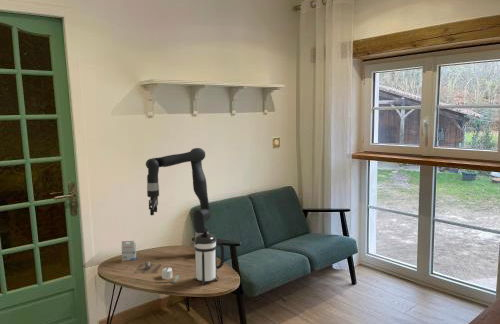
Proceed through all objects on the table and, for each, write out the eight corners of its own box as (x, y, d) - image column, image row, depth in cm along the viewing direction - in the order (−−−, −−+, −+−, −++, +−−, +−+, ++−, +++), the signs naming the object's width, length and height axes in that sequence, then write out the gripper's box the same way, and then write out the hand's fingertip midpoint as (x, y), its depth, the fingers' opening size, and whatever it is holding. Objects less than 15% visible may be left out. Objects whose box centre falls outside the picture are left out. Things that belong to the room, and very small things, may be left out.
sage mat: (178, 275, 226) (178, 275, 226) (175, 283, 216) (175, 282, 216) (159, 276, 226) (159, 275, 226) (155, 283, 216) (155, 282, 216)
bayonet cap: (163, 276, 224) (162, 267, 224) (173, 276, 224) (172, 267, 224) (160, 280, 218) (160, 271, 218) (171, 280, 218) (170, 271, 218)
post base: (161, 266, 241) (161, 258, 241) (156, 275, 227) (156, 266, 227) (140, 266, 241) (139, 258, 240) (133, 275, 227) (133, 266, 227)
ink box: (136, 259, 254) (135, 238, 252) (135, 262, 249) (134, 240, 247) (123, 259, 253) (122, 238, 252) (122, 262, 248) (121, 241, 247)
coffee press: (216, 286, 211) (215, 235, 208) (189, 284, 215) (188, 233, 211) (224, 274, 228) (223, 226, 225) (199, 272, 231) (198, 225, 228)
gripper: (150, 187, 251) (150, 211, 253) (144, 191, 237) (145, 216, 238) (161, 187, 251) (162, 210, 253) (156, 191, 237) (156, 216, 238)
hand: (153, 213), depth 246 cm, fingers open, 8 cm apart
